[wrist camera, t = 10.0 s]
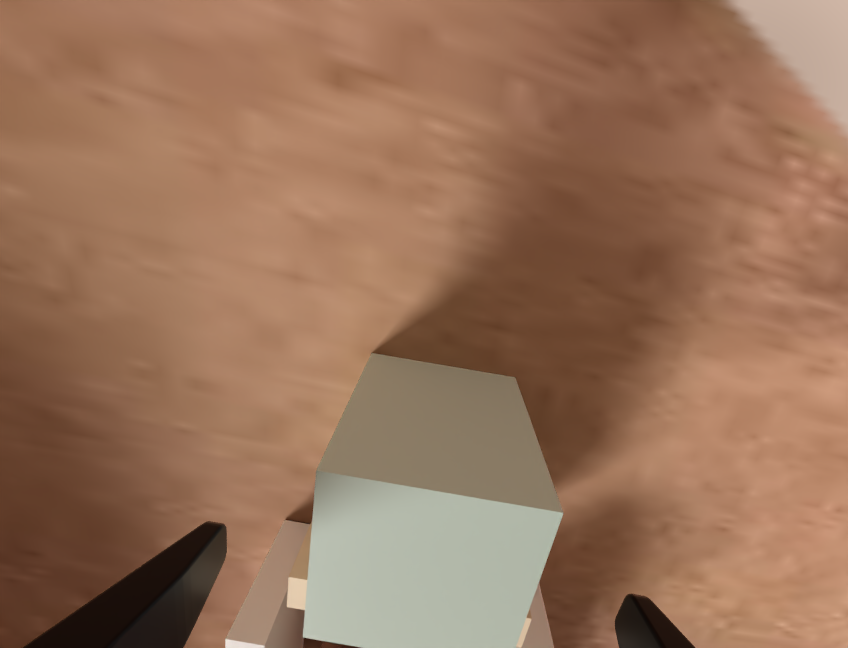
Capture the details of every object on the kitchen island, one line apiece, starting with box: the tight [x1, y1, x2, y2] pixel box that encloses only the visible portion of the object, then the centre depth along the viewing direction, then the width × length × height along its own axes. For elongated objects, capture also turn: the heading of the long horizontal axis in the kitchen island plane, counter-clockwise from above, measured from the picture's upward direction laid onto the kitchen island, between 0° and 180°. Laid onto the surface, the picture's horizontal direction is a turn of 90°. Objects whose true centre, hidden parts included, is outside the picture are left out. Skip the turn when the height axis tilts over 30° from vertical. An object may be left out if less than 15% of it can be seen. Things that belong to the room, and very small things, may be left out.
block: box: [303, 353, 563, 648], centre depth 11 cm, size 5×5×6 cm
